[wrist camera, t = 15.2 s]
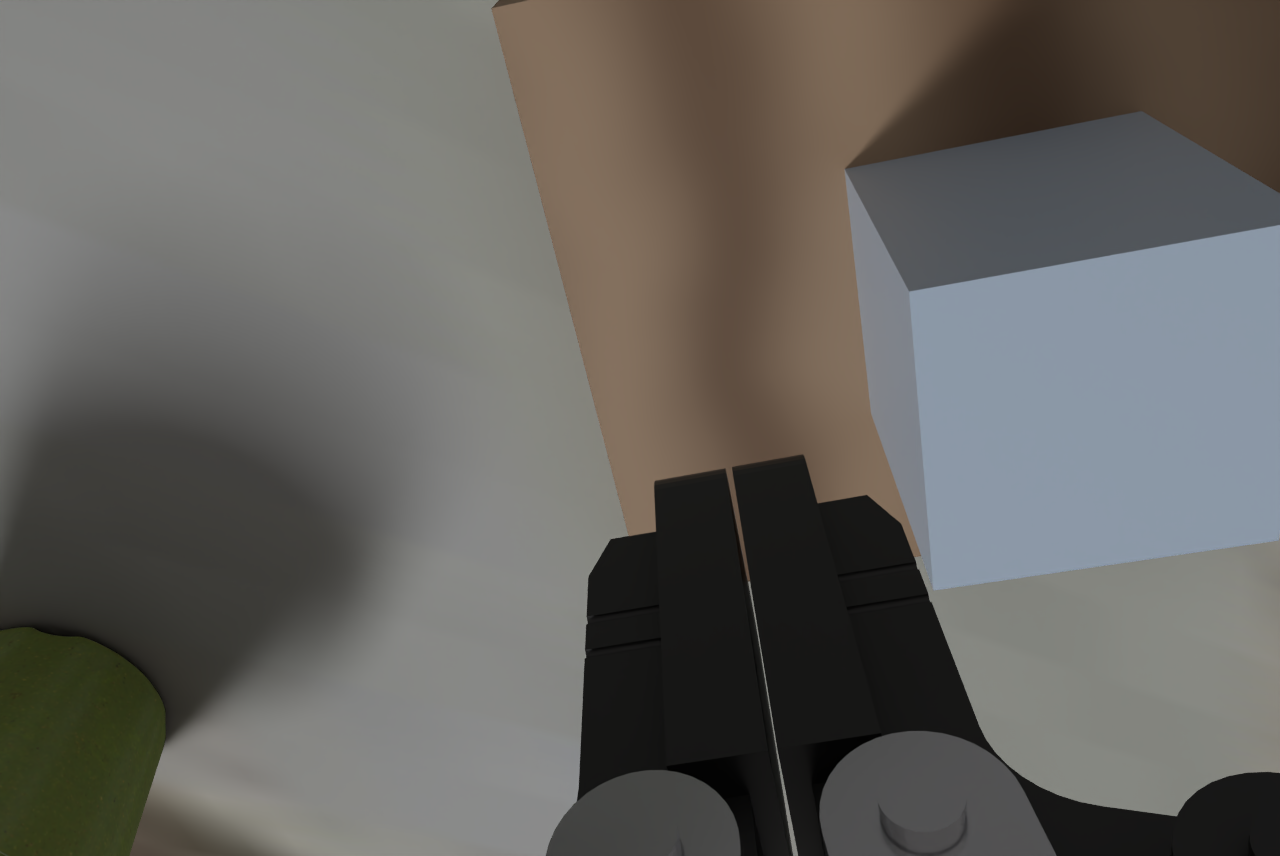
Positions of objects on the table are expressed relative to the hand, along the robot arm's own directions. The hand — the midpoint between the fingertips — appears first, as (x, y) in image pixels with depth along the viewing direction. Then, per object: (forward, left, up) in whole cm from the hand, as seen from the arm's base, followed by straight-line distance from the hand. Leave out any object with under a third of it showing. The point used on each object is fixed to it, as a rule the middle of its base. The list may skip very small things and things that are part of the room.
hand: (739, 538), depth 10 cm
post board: (+6, -4, -17) cm, 19 cm away
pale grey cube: (+6, -4, -14) cm, 16 cm away
